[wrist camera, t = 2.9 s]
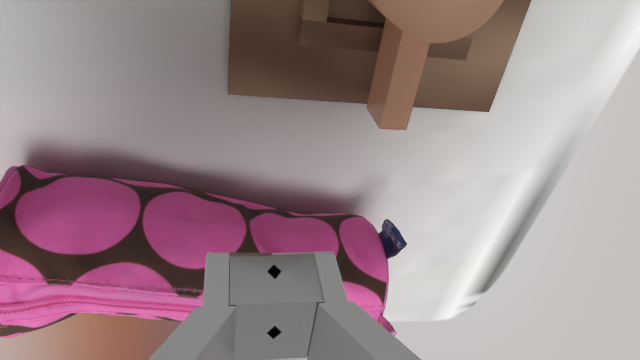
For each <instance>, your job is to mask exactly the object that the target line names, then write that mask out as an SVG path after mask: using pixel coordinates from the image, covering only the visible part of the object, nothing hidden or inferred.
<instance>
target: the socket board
mask: <svg viewBox="0 0 640 360" xmlns="http://www.w3.org/2000/svg"><path fill="white" fill-rule="evenodd" d="M530 2H531V0H504V1H503V2H502V4H501V5H500V7H499V8H498V9H497V11H496V12H495V13H494V14H493V16H492V17H491V18H490V19H489V20H488V21H487V22H486V23H484V24H483V25H482V26H481V27H480V28H478V29H477V30H475V31H474V32H472V33H471V34H469V35H467V36H465V37H463V38H460V39H457V40H455V41H450V42H446V43H430V45H429V49H428V53H427V56H426V60H425V63H424V67H423V71H422V74H421V78H420V82H419V85H418V89H417V92H416V96H415V100H414V103H413V107H422V108H437V109H451V110H466V111H481V112H489V110H490V108H491V105H492V103H493V100H494V97H495V95H496V92H497V89H498V87H499V84H500V81H501V79H502V76H503V73H504V71H505V68H506V66H507V63H508V60H509V58H510V55H511V52H512V50H513V47H514V44H515V42H516V39H517V37H518V34H519V31H520V29H521V26H522V23H523V21H524V18H525V15H526V13H527V10H528V7H529V5H530ZM385 20H386V17H385V16H384V15H383V14H381V13H380V12H379V11H378V10H377V9H375V8H374V7H373V6H372V5H371V4H369V3H368V2H367V1H366V0H231V19H230V52H229V85H228V94H232V95H246V96H261V97H276V98H290V99H305V100H320V101H334V102H349V103H363V104H368V99H369V94H370V90H371V85H372V80H373V76H374V71H375V67H376V62H377V57H378V53H379V48H380V43H381V39H382V34H383V29H384V25H385Z"/></svg>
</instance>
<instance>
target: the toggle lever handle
mask: <svg viewBox="0 0 640 360" xmlns="http://www.w3.org/2000/svg"><path fill="white" fill-rule="evenodd" d="M366 1H367V2H368V3H369V4H371V5H372V6H373V7H374V8H375V9H377V10H378V11H379V12H380V13H381V14H383V15H384V16H385V17H386V20H385V25H384V29H383V34H382V39H381V43H380V48H379V53H378V57H377V62H376V67H375V71H374V76H373V80H372V85H371V90H370V94H369V99H368V104H367V109H368V111H369V112H370V114H371V115H372V117H373V119H374V120H375V122H376V124H377V125H378V127H379V128H380V129H396V130H406V129H407V125H408V122H409V118H410V114H411V111H412V107H413V103H414V100H415V96H416V92H417V89H418V85H419V82H420V78H421V74H422V71H423V67H424V63H425V60H426V56H427V53H428V49H429V45H430V43H446V42H450V41H455V40H457V39H460V38H463V37H465V36H467V35H469V34H471V33H472V32H474V31H475V30H477V29H478V28H480V27H481V26H482V25H483V24H484V23H486V22H487V21H488V20H489V19H490V18H491V17H492V16H493V14H494V13H495V12H496V11H497V9H498V8H499V7H500V5H501V4H502V2H503V1H504V0H366Z"/></svg>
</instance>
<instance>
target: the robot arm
mask: <svg viewBox="0 0 640 360" xmlns="http://www.w3.org/2000/svg"><path fill="white" fill-rule="evenodd" d="M306 357H308V358H307V359H308V360H421V359H420V358H419V357H417V356H416V355H415V354H414V353H412V351H410V350H409V349H408V348H407V347H406V346H405V345H403V344H402V343H401V342H400V341H399V340H398V339H397V338H395V337H394V336H393V335H392V334H391V333H390V332H389V331H387V330H386V329H385V328H384V327H383V326H382V325H380V324H379V323H378V322H377V321H376V320H375V319H374V318H372V317H371V316H370V315H369V314H368V313H367V312H366V311H364V310H363V309H362V308H361V307H360V306H359V305H357V304H356V303H355V302H348V299H347V295H346V292H345V288H344V285H343V282H342V278H341V275H340V271H339V268H338V264H337V261H336V258H335V254H334V253H333V252H332V251H329V252H312V253H311V252H295V253H239V252H230V257H229V253H211V252H207V256H206V264H205V278H204V292H203V306H202V307H195V309H194V310H193V311H192V312H191V313H190V314H189V315H188V316H187V317H186V319H185V320H184V321H183V322H182V323H181V324H180V325H179V326H178V327H177V329H176V330H175V331H174V332H173V333H172V334H171V335H170V336H169V337H168V339H167V340H166V341H165V342H164V343H163V344H162V345H161V346H160V348H159V349H158V350H157V351H156V352H155V353H154V354H153V355H152V356H151V358H150V359H149V360H262V359H276V358H306Z"/></svg>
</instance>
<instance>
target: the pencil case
mask: <svg viewBox="0 0 640 360" xmlns="http://www.w3.org/2000/svg"><path fill="white" fill-rule="evenodd" d="M382 229H383V230H382V231H381V232H380V233H378V232H377V231H376V229H375V227H374V226H373V225H372V224H371V223H369V222H368V221H367V220H366V219H365V218H364V217H362V216H357V215H353V214H348V213H338V214H330V213H319V214H307V215H305V214H298V213H293V212H289V211H284V210H280V209H277V208H272V207H268V206H264V205H260V204H256V203H252V202H247V201H243V200H238V199H233V198H229V197H225V196H219V195H215V194H211V193H206V192H198V191H191V190H186V189H183V188H180V187H177V186H173V185H169V184H163V183H154V182H142V181H132V180H125V179H117V178H103V177H90V176H74V175H66V174H60V173H46V172H43V171H41V170H38V169H34V168H32V167H30V166H29V165H22V166H19V167H18V166H13V167H10V168H9V169H8V170H7V171H6V173H5V175H4V177H3V179H2V180H1V182H0V337H3V338H10V337H14V336H18V335H22V334H25V333H29V332H32V331H35V330H38V329H41V328H44V327H47V326H49V325H51V324H54V323H57V322H59V321H62V320H64V319H66V318H68V317H71V316H73V315H75V314H77V313H80V312H84V313H91V314H100V315H116V316H134V317H139V318H146V319H161V320H170V321H179V322H183V321H184V320H185V319H186V317H187V316H188V315H189V314H190V313H191V312H192V311H193V310H194V309H195V307H202V306H203V292H204V278H205V264H206V256H207V252H211V253H229V257H230V252H239V253H295V252H311V253H312V252H329V251H332V252H333V253H334V254H335V258H336V261H337V264H338V268H339V271H340V275H341V278H342V282H343V285H344V288H345V292H346V295H347V299H348V302H355V303H356V304H357V305H359V306H360V307H361V308H362V309H363V310H364V311H366V312H367V313H368V314H369V315H370V316H371V317H372V318H374V319H375V320H376V321H377V322H378V323H379V324H380V325H382V326H383V327H384V328H385V329H386V330H387V331H389V332H390V333H391V334H392V335H393V336H395V334H396V332H395V330H394V329H393V327H392V326H391V324H390V323H389V322H388V321H387V320H386V319H385V318H384V317H383V312H384V309H385V305H386V300H387V293H388V283H389V274H388V261H387V259H388V258H391V257H393V256H396V255H397V254H398V253H399V252H400V251H401V250H402V249H403V247H405V246H406V244H407V243H406V242H405V240H404V239H403V237H402V235H401V234H400V232H399V230H398V229H397V228H396V227H395V225H394V224H393V223H392V222H391V221H390V220H388V219H386V220H384V223H383V225H382Z"/></svg>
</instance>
